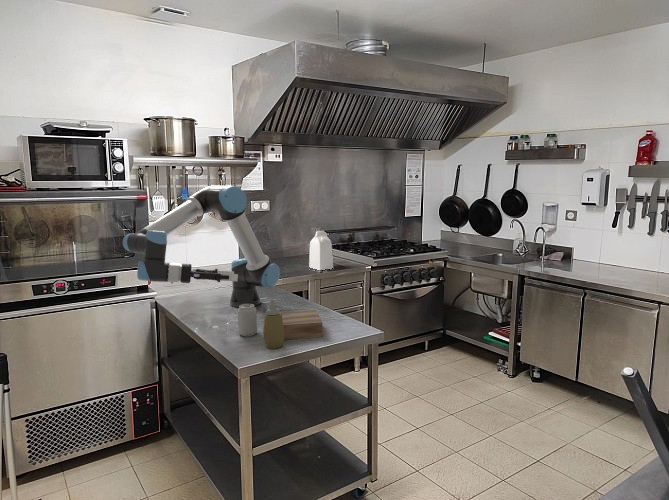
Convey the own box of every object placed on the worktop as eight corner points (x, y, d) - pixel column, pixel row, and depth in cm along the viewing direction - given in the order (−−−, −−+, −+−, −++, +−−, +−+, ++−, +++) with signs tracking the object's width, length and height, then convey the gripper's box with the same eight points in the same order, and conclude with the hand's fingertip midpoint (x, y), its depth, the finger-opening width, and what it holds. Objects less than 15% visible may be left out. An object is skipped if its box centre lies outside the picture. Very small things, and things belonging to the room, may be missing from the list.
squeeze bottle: (273, 351, 174) (271, 303, 171) (259, 346, 179) (256, 300, 177) (289, 345, 180) (287, 299, 177) (275, 341, 185) (273, 296, 183)
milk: (322, 266, 334) (321, 229, 330) (333, 268, 326) (332, 230, 322) (309, 269, 326) (307, 231, 322) (320, 271, 318) (319, 232, 314)
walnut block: (274, 326, 203) (273, 312, 203) (316, 323, 207) (315, 309, 206) (277, 340, 186) (276, 325, 185) (322, 336, 189) (322, 322, 188)
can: (258, 330, 199) (257, 302, 197) (256, 336, 191) (254, 307, 189) (240, 331, 198) (238, 303, 196) (237, 337, 191) (235, 308, 189)
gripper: (179, 279, 198) (231, 282, 205) (179, 286, 174) (238, 289, 181) (181, 261, 198) (232, 264, 205) (181, 265, 174) (240, 269, 181)
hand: (235, 276), depth 193 cm, fingers open, 13 cm apart
